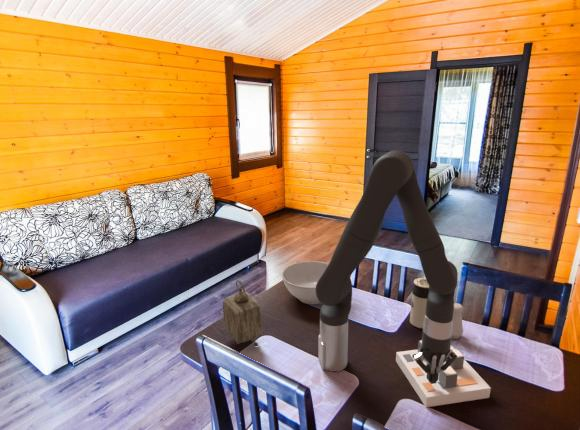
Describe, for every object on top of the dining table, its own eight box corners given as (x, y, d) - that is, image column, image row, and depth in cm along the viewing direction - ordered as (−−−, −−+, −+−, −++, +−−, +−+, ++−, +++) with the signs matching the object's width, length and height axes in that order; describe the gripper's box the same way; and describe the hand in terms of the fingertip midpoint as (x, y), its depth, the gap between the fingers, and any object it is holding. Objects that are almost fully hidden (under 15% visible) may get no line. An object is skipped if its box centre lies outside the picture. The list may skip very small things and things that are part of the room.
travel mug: (431, 320, 144) (435, 279, 139) (430, 330, 137) (434, 288, 132) (411, 315, 147) (414, 276, 142) (408, 326, 140) (411, 284, 135)
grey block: (445, 388, 104) (446, 375, 103) (438, 379, 107) (439, 366, 106) (456, 386, 105) (457, 373, 103) (449, 378, 108) (450, 365, 106)
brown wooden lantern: (263, 348, 130) (259, 286, 123) (240, 357, 125) (235, 293, 118) (246, 328, 142) (242, 270, 134) (224, 336, 137) (219, 277, 130)
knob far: (422, 358, 116) (424, 346, 115) (417, 351, 120) (418, 340, 118) (432, 357, 117) (434, 345, 116) (427, 350, 120) (428, 338, 119)
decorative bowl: (311, 278, 182) (311, 256, 178) (353, 297, 163) (354, 273, 159) (270, 297, 164) (269, 273, 161) (312, 321, 145) (312, 294, 142)
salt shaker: (463, 341, 131) (468, 310, 127) (447, 339, 132) (450, 308, 128) (459, 332, 136) (463, 301, 132) (443, 330, 137) (447, 300, 133)
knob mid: (452, 370, 111) (453, 357, 110) (445, 362, 114) (447, 350, 113) (462, 368, 112) (464, 356, 110) (456, 361, 115) (457, 349, 114)
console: (425, 407, 103) (426, 396, 102) (395, 360, 122) (396, 351, 120) (489, 397, 105) (490, 387, 104) (450, 353, 124) (451, 344, 123)
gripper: (421, 341, 95) (416, 394, 100) (467, 335, 97) (460, 388, 102) (408, 325, 102) (404, 375, 107) (451, 320, 104) (445, 369, 109)
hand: (432, 381), depth 105 cm, fingers closed
